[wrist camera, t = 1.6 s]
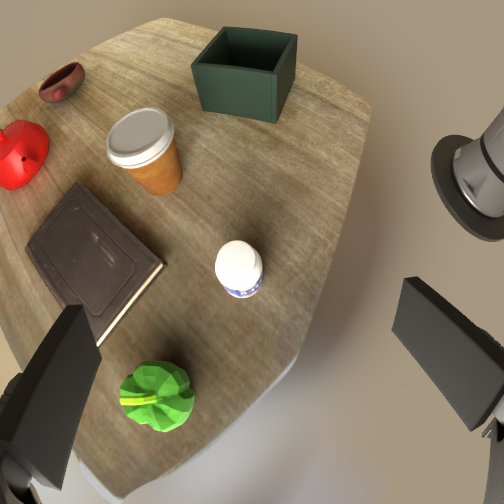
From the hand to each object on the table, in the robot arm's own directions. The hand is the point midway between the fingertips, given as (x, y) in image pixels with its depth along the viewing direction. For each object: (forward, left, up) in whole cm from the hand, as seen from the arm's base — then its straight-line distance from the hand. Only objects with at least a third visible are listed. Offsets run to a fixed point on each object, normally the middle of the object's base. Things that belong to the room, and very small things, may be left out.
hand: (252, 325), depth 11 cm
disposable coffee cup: (+22, -18, -26) cm, 39 cm away
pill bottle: (+5, -7, -26) cm, 28 cm away
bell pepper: (+9, +10, -26) cm, 30 cm away
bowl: (+60, -36, -26) cm, 75 cm away
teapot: (+57, -15, -26) cm, 64 cm away
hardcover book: (+29, -2, -26) cm, 39 cm away
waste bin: (+15, -40, -26) cm, 50 cm away
